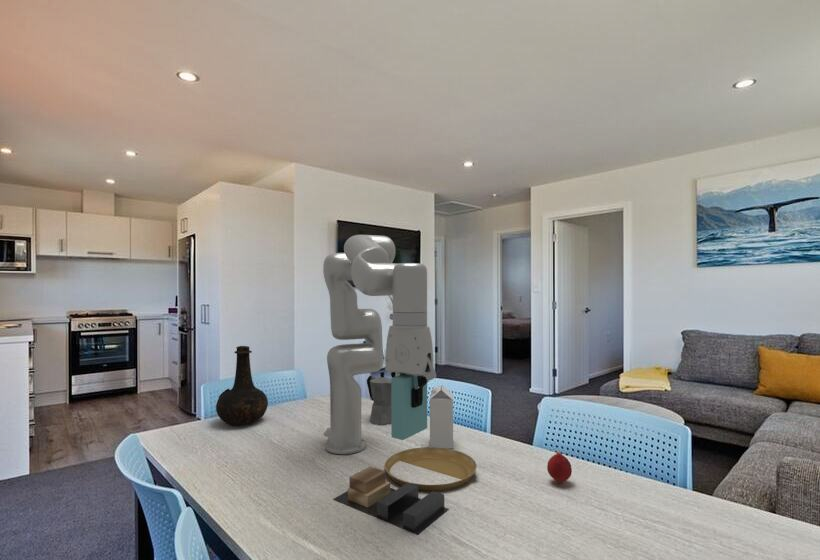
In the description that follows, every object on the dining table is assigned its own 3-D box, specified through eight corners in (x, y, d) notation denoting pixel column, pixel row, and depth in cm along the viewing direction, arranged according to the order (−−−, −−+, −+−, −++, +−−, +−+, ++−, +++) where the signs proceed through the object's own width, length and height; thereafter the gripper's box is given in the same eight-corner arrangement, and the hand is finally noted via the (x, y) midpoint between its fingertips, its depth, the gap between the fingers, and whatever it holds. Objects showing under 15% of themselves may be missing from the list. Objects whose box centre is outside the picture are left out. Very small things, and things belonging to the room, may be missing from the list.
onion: (571, 479, 110) (571, 448, 110) (572, 490, 104) (571, 457, 104) (547, 476, 112) (547, 445, 112) (547, 486, 106) (546, 454, 106)
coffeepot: (404, 422, 156) (403, 372, 157) (384, 428, 150) (384, 376, 150) (377, 413, 167) (376, 367, 168) (357, 418, 161) (357, 370, 161)
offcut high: (349, 487, 99) (349, 476, 99) (369, 476, 104) (369, 466, 104) (365, 493, 96) (365, 482, 96) (385, 482, 101) (385, 471, 101)
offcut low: (348, 499, 98) (348, 488, 98) (371, 486, 105) (371, 475, 105) (367, 507, 95) (367, 496, 95) (390, 493, 101) (390, 482, 101)
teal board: (391, 437, 90) (391, 377, 90) (416, 425, 98) (416, 370, 98) (402, 440, 89) (402, 379, 89) (427, 428, 96) (427, 372, 96)
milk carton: (453, 440, 138) (452, 381, 138) (453, 449, 131) (452, 386, 131) (431, 440, 138) (430, 381, 139) (429, 448, 131) (429, 386, 132)
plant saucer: (373, 465, 120) (373, 453, 120) (451, 452, 129) (451, 441, 129) (402, 506, 98) (402, 492, 98) (494, 488, 106) (494, 474, 106)
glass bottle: (233, 414, 167) (232, 342, 168) (276, 416, 165) (276, 343, 165) (205, 429, 150) (205, 349, 150) (253, 431, 147) (253, 350, 148)
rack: (332, 503, 99) (332, 486, 99) (367, 483, 108) (367, 467, 108) (417, 540, 84) (417, 519, 84) (449, 513, 94) (449, 495, 94)
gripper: (370, 319, 95) (370, 402, 95) (431, 323, 85) (431, 416, 85) (391, 316, 101) (391, 395, 101) (451, 320, 91) (451, 407, 91)
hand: (409, 403), depth 93 cm, fingers closed on teal board, 3 cm apart
